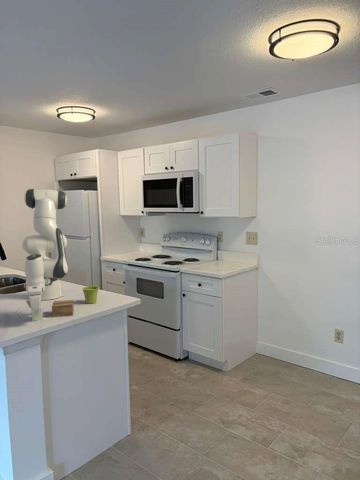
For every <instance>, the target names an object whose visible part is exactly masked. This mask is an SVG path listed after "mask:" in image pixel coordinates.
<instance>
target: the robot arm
mask: <svg viewBox="0 0 360 480" xmlns="http://www.w3.org/2000/svg"><path fill="white" fill-rule="evenodd" d="M23 198H24V203H25V206H27V207H28V208H30V209H32V210H33V209H34V210H33V211H34V212H33V219H32V220H33V221H32V222H33V223H32V224H33V225H32V226H33V229H34V231H36V233H37V234H34V235H29V236H26V237H24V239H23V240H22V249H23V251H24V252H26V253H27V254H29V255H27V256H26V257H25V262H24V274H25V277H26V278H25V292H26V293H27V296H28V298H29V299H28V300H29V301H30V306H31V308H30V309H31V312H32V311H34V313H35V317H38V316H39V309H40V305H41V303H42V301H50V300H54V299H58V298H60V297H64V296H65V293H64V292H63V291H62V286H61V282H60V281H58V279H63V278H64V277H66V275H67V274H68V271H69V266H68V261H67V257H66V250H65V249H66V248H67V247H68V239H67V238H66V237H67V236H65V235H64V234H63V231H62V230H61V229H60V228H58V225H57V210H62V209H64V208H66V205H67V203H68V197H67V194H66V193H65V191H62V190H55V189H49V188H46V189H45V188H36V189H35V188H29V189H27V190H26V192H25V193H24V197H23ZM46 253H55V258H53V259H52V258H51V257H48V256H46Z"/></svg>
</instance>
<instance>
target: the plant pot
mask: <svg viewBox="0 0 360 480" xmlns="http://www.w3.org/2000/svg"><path fill="white" fill-rule="evenodd" d="M99 289H100V287H99V286H95V285H94V286H93V285H92V286H91V285H90V286H84V287H82V288H81V290H82V292H83V295H84V300H85V303H86V304H88V305H89V304H96V303H97V300H98V292H99Z"/></svg>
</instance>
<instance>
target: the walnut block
mask: <svg viewBox="0 0 360 480" xmlns="http://www.w3.org/2000/svg"><path fill="white" fill-rule="evenodd" d="M74 306H75V305H74V299H67V300H66V299H65V300H63V299H62V300H53V302H52V305H51V317H52V318H60V317H73V315H74V312H75V307H74Z"/></svg>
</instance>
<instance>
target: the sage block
mask: <svg viewBox="0 0 360 480" xmlns="http://www.w3.org/2000/svg"><path fill="white" fill-rule="evenodd" d="M31 318H32V320H31V321H32V322H35V321H34V320H36V321H43V306H42V305H41V306H40V309H39V316H38V317H35V313H34V311H32V310H31Z"/></svg>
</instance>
